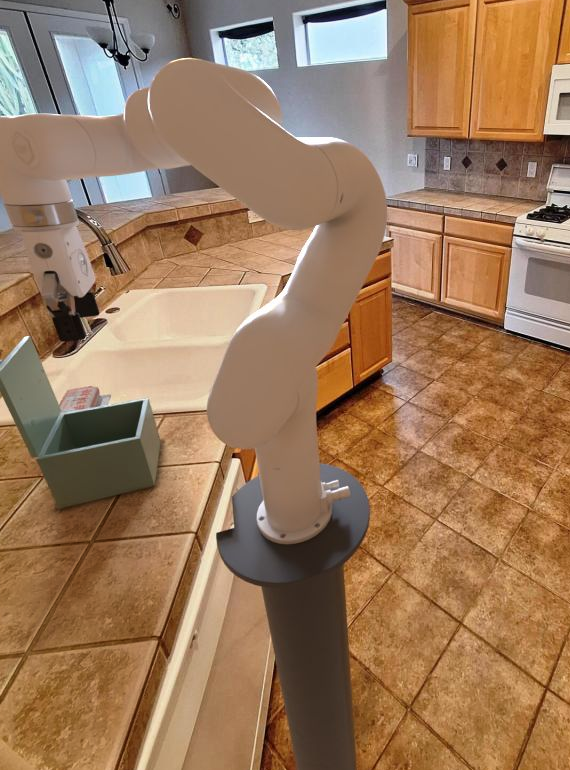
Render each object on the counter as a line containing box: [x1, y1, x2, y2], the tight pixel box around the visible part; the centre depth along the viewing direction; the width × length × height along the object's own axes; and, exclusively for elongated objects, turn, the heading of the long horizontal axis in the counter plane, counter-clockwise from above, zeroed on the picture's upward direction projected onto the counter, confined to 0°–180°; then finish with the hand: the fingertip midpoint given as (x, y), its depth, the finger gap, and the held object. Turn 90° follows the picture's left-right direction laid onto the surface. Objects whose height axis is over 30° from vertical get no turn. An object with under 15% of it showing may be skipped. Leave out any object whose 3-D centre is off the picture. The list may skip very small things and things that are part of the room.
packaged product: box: [58, 385, 112, 413], centre depth 93 cm, size 18×5×10 cm
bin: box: [35, 397, 162, 510], centre depth 79 cm, size 15×14×11 cm
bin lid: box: [0, 335, 61, 459], centre depth 70 cm, size 15×14×5 cm
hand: (81, 327), depth 67 cm, fingers open, 9 cm apart
